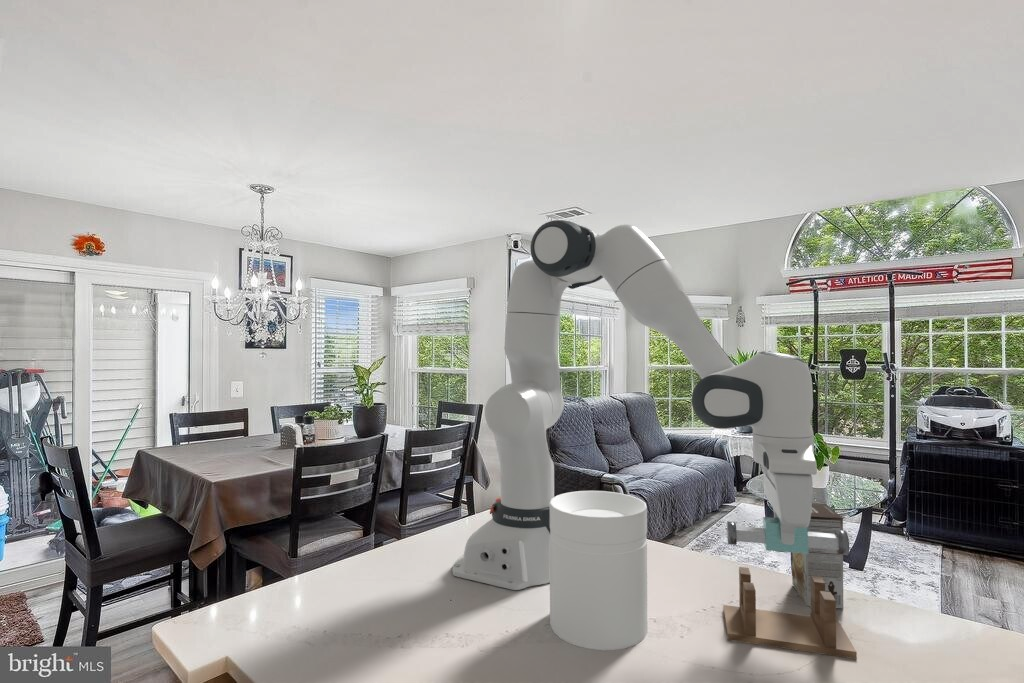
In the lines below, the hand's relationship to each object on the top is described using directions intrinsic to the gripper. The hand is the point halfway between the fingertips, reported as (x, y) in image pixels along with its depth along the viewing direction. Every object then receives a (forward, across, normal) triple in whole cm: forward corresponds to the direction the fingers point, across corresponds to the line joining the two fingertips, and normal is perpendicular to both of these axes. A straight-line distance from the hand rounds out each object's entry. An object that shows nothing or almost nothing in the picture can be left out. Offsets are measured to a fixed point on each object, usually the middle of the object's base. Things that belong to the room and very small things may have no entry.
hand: (784, 538), depth 87 cm
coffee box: (+15, -16, +8) cm, 24 cm away
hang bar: (+2, 0, 0) cm, 2 cm away
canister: (+15, +6, -29) cm, 34 cm away
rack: (+15, 0, 0) cm, 15 cm away
